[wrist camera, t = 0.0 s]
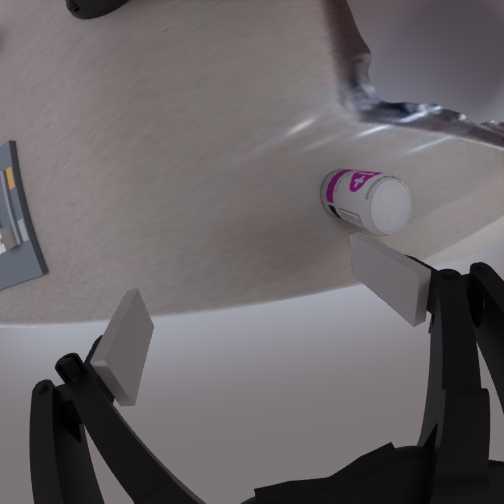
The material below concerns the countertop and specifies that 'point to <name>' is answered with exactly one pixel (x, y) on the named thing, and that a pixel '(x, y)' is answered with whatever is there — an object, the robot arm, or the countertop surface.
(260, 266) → the countertop surface
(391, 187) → the supplement can
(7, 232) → the tab
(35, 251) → the switch board
